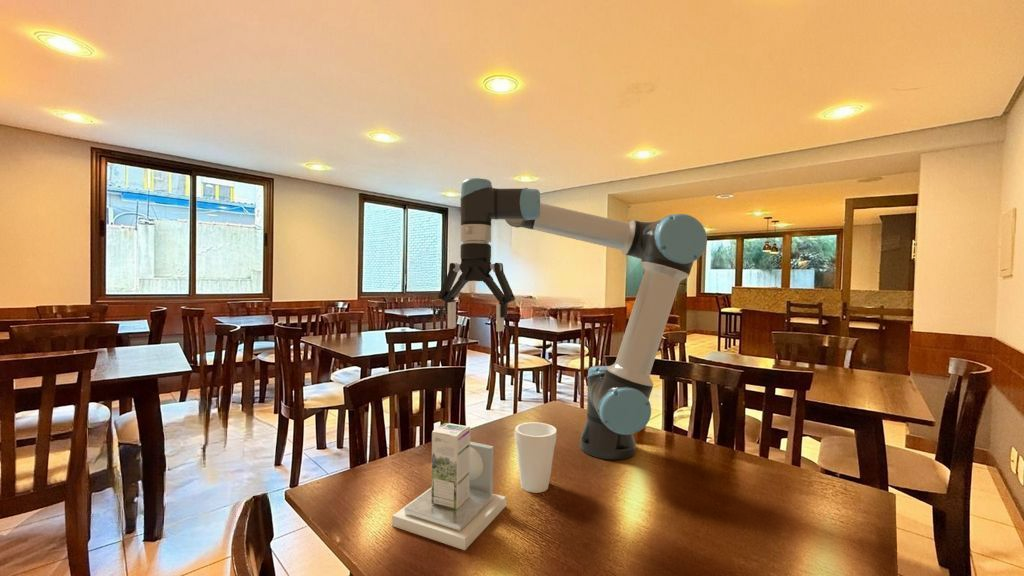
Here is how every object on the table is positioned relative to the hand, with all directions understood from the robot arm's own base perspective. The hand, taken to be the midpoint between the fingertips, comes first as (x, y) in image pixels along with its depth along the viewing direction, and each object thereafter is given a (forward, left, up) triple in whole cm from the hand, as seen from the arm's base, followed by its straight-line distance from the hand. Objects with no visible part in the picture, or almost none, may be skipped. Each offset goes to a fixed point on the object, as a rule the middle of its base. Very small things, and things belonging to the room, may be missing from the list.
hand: (475, 329), depth 106 cm
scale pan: (-7, +22, -32) cm, 39 cm away
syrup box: (-7, +21, -31) cm, 39 cm away
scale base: (-7, +21, -34) cm, 41 cm away
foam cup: (-17, +2, -35) cm, 39 cm away
